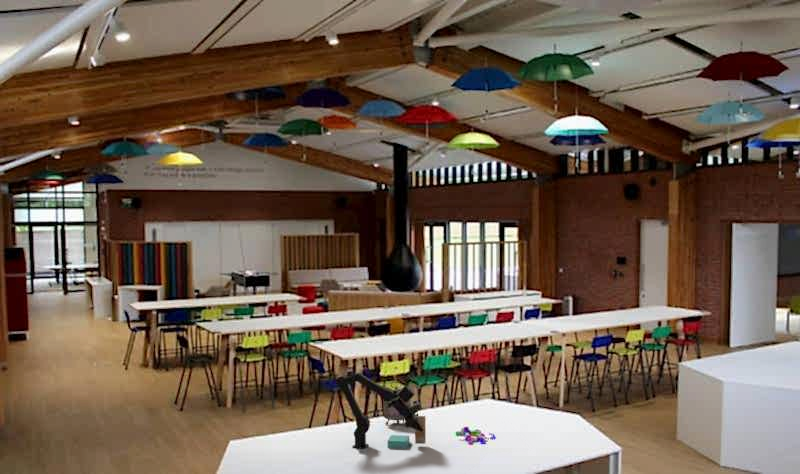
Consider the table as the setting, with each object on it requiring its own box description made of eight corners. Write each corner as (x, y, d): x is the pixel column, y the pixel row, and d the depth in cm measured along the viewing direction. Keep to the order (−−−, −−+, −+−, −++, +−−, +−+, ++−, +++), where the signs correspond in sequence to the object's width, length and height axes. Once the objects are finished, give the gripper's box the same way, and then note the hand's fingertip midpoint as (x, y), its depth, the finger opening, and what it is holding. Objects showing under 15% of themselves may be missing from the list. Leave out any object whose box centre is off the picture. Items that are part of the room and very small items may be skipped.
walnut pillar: (424, 443, 351) (424, 418, 351) (415, 443, 351) (415, 418, 351) (425, 440, 356) (425, 416, 356) (416, 440, 356) (415, 415, 356)
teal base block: (406, 449, 352) (406, 441, 352) (387, 448, 353) (387, 440, 353) (409, 443, 362) (409, 435, 362) (391, 442, 363) (390, 435, 363)
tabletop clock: (382, 425, 394) (382, 382, 393) (387, 421, 402) (386, 379, 402) (406, 427, 389) (406, 383, 389) (411, 422, 398) (410, 380, 398)
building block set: (498, 444, 357) (498, 436, 357) (460, 445, 356) (460, 437, 356) (490, 430, 382) (489, 422, 382) (453, 431, 381) (453, 423, 381)
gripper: (411, 401, 344) (433, 423, 344) (413, 392, 363) (434, 413, 362) (395, 417, 345) (417, 439, 344) (399, 407, 364) (419, 428, 363)
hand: (423, 429), depth 353 cm, fingers closed on walnut pillar, 5 cm apart
